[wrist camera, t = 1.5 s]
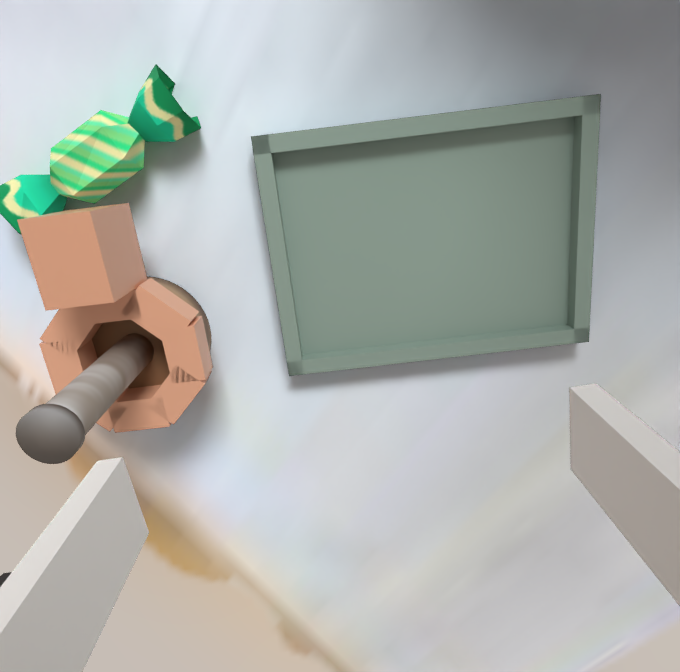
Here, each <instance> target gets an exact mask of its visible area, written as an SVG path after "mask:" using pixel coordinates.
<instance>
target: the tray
mask: <svg viewBox="0 0 680 672" xmlns="http://www.w3.org/2000/svg"><path fill="white" fill-rule="evenodd" d="M600 102H601V94H597V95H588V96H580V97H572V98H564V99H556V100H548V101H539V102H531V103H523V104H515V105H507V106H498V107H490V108H482V109H474V110H466V111H457V112H449V113H441V114H433V115H425V116H416V117H408V118H400V119H392V120H384V121H375V122H367V123H359V124H351V125H343V126H334V127H326V128H318V129H310V130H302V131H293V132H285V133H277V134H269V135H261V136H252V137H251V140H252V146H253V153H254V159H255V165H256V171H257V178H258V184H259V190H260V197H261V203H262V209H263V215H264V222H265V228H266V234H267V240H268V247H269V253H270V259H271V265H272V272H273V278H274V284H275V290H276V297H277V303H278V309H279V315H280V322H281V328H282V334H283V340H284V347H285V353H286V359H287V365H288V372H289V376H294V375H303V374H311V373H320V372H329V371H338V370H346V369H355V368H364V367H373V366H381V365H390V364H399V363H408V362H416V361H425V360H434V359H442V358H451V357H460V356H469V355H477V354H486V353H495V352H504V351H512V350H521V349H530V348H539V347H547V346H556V345H565V344H574V343H582V342H589V328H590V308H591V287H592V267H593V246H594V225H595V205H596V184H597V164H598V143H599V123H600Z"/></svg>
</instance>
